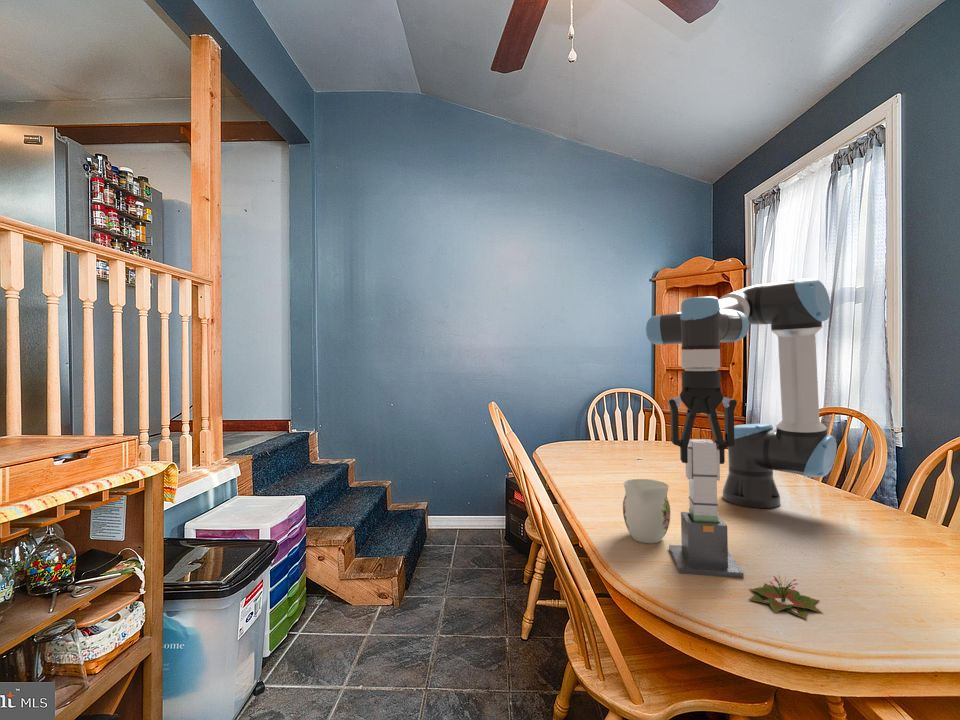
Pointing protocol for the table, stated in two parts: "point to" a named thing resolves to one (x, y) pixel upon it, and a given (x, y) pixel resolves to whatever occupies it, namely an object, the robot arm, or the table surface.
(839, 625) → the table surface
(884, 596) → the table surface
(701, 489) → the column
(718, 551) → the stand
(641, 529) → the pitcher
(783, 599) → the lily flower
